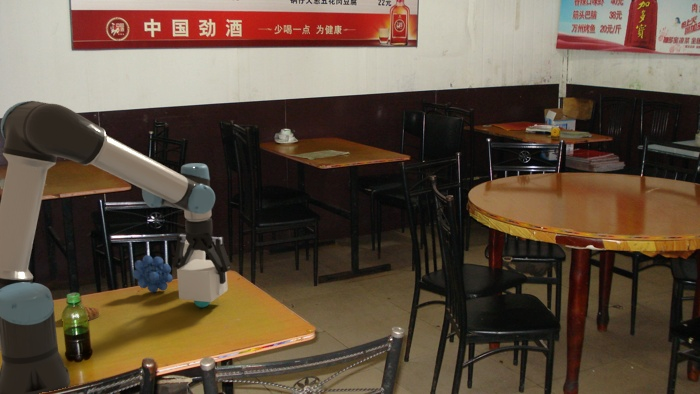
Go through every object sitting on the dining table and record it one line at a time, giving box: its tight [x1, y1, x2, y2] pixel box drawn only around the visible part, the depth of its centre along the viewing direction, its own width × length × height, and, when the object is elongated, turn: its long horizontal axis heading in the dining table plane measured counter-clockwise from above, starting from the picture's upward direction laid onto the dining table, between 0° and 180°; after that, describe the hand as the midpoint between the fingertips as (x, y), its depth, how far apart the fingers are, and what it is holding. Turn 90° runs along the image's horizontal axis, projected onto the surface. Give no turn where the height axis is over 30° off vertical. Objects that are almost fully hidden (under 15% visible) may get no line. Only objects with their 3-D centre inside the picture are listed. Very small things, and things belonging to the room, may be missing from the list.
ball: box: [193, 300, 211, 308], centre depth 217 cm, size 5×5×5 cm
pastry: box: [83, 306, 100, 321], centre depth 210 cm, size 9×7×4 cm
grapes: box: [132, 254, 174, 293], centre depth 228 cm, size 12×7×12 cm, turn 110°
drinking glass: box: [182, 240, 206, 263], centre depth 232 cm, size 7×7×15 cm
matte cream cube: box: [176, 259, 229, 303], centre depth 217 cm, size 10×10×9 cm
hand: (203, 292), depth 217 cm, fingers closed on matte cream cube, 10 cm apart
